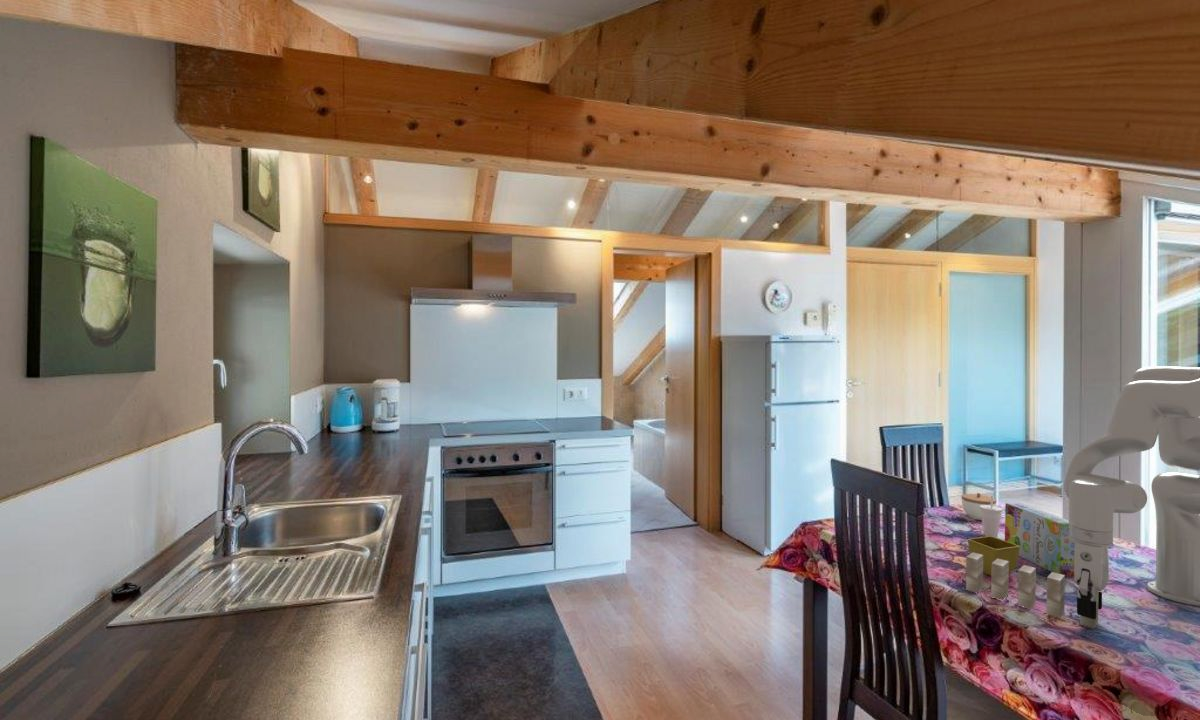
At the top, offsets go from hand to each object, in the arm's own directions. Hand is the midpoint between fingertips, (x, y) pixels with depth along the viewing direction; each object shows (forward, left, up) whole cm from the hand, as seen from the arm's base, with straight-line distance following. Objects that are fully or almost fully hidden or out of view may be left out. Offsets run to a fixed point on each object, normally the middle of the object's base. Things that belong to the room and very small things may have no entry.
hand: (1089, 611), depth 122 cm
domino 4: (+6, 0, -3) cm, 7 cm away
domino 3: (+12, 0, -3) cm, 12 cm away
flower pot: (+23, -16, -3) cm, 28 cm away
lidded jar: (+42, -73, -3) cm, 84 cm away
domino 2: (+17, 0, -3) cm, 17 cm away
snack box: (+17, -37, -3) cm, 41 cm away
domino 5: (0, 0, -3) cm, 3 cm away
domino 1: (+23, 0, -3) cm, 23 cm away
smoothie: (+33, -53, -3) cm, 62 cm away
